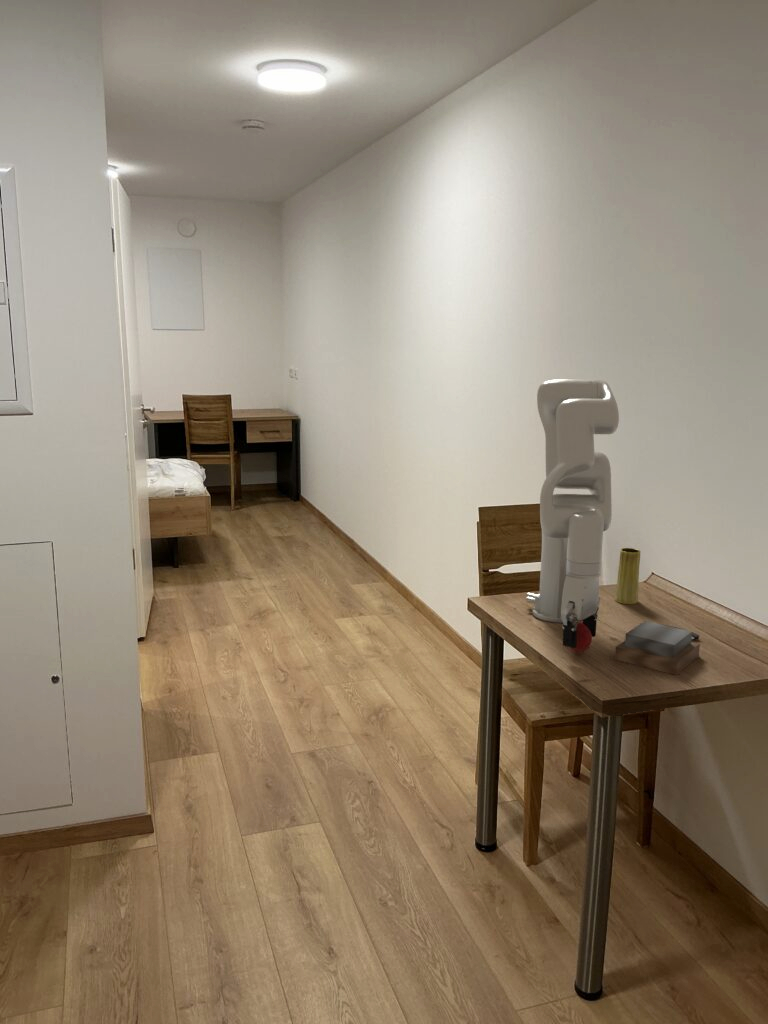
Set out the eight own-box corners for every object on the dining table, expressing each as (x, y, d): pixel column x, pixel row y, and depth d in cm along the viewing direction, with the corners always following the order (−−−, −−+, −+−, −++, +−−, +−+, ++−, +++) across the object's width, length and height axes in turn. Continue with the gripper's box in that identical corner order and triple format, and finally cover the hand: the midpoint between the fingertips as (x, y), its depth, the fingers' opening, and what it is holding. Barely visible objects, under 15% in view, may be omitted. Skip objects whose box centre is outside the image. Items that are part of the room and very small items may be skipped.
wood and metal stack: (614, 659, 196) (616, 633, 194) (639, 642, 206) (641, 617, 205) (676, 675, 187) (678, 648, 186) (698, 656, 198) (701, 631, 197)
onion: (585, 648, 202) (587, 615, 200) (594, 657, 196) (597, 623, 195) (561, 649, 201) (563, 616, 200) (570, 658, 196) (572, 624, 194)
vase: (642, 603, 235) (646, 552, 232) (621, 605, 233) (625, 553, 230) (631, 597, 241) (634, 546, 237) (610, 598, 239) (614, 547, 236)
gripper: (584, 557, 203) (580, 628, 207) (550, 572, 190) (546, 647, 193) (615, 563, 199) (610, 634, 202) (581, 578, 185) (577, 655, 189)
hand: (579, 640), depth 198 cm, fingers open, 9 cm apart
